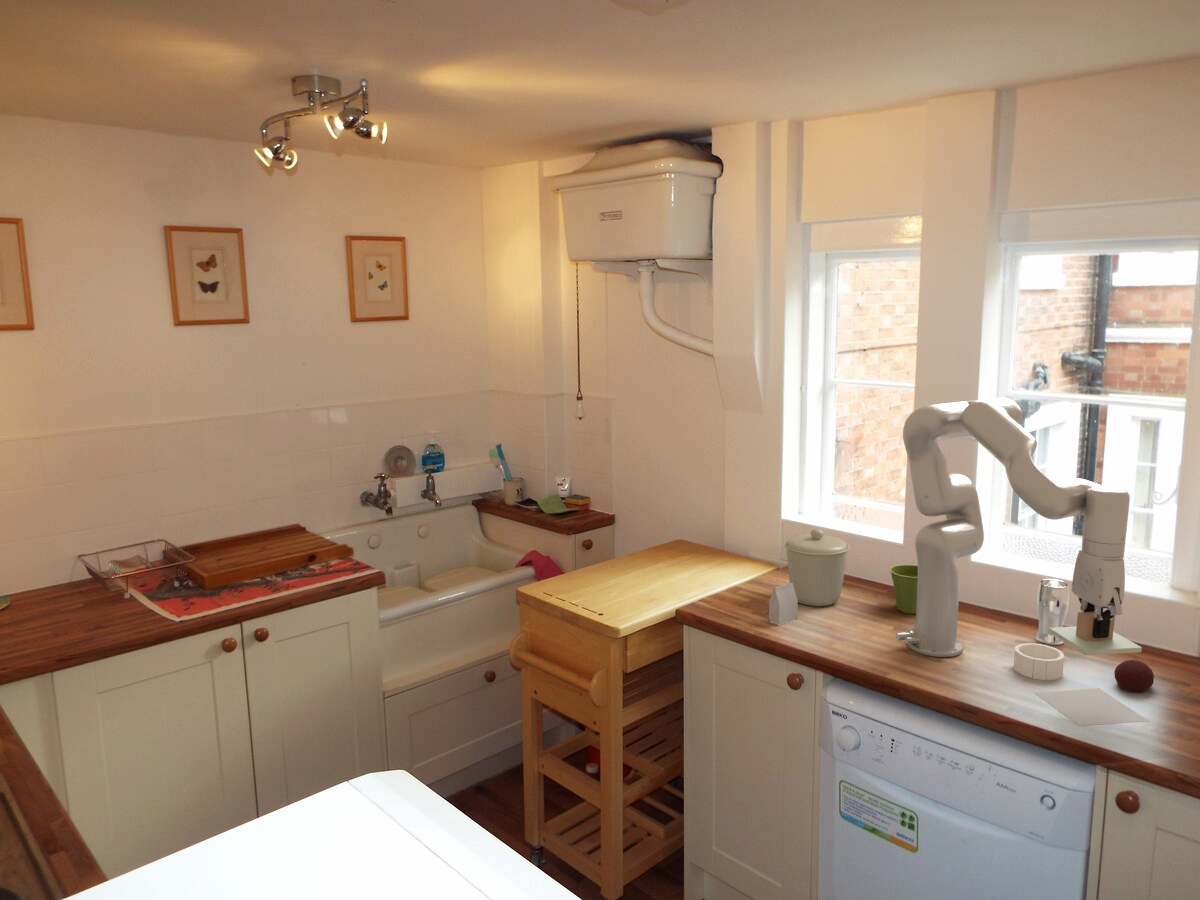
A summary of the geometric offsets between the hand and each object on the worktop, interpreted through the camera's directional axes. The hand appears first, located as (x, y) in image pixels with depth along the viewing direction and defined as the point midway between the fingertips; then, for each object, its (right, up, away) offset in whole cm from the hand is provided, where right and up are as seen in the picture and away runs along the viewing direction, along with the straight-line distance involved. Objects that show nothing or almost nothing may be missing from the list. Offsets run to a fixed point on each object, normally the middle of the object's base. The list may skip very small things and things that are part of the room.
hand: (1094, 633), depth 181 cm
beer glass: (+10, -10, +38) cm, 41 cm away
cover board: (0, -2, 0) cm, 2 cm away
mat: (0, -16, +3) cm, 17 cm away
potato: (+15, -15, +12) cm, 24 cm away
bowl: (-2, -13, +20) cm, 24 cm away
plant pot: (-16, -7, +61) cm, 64 cm away
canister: (-40, -5, +70) cm, 81 cm away
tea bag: (-53, -8, +54) cm, 76 cm away
